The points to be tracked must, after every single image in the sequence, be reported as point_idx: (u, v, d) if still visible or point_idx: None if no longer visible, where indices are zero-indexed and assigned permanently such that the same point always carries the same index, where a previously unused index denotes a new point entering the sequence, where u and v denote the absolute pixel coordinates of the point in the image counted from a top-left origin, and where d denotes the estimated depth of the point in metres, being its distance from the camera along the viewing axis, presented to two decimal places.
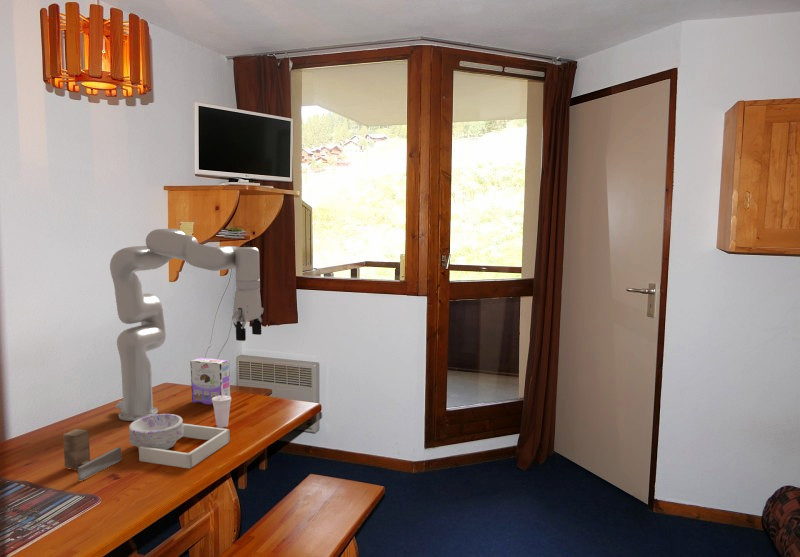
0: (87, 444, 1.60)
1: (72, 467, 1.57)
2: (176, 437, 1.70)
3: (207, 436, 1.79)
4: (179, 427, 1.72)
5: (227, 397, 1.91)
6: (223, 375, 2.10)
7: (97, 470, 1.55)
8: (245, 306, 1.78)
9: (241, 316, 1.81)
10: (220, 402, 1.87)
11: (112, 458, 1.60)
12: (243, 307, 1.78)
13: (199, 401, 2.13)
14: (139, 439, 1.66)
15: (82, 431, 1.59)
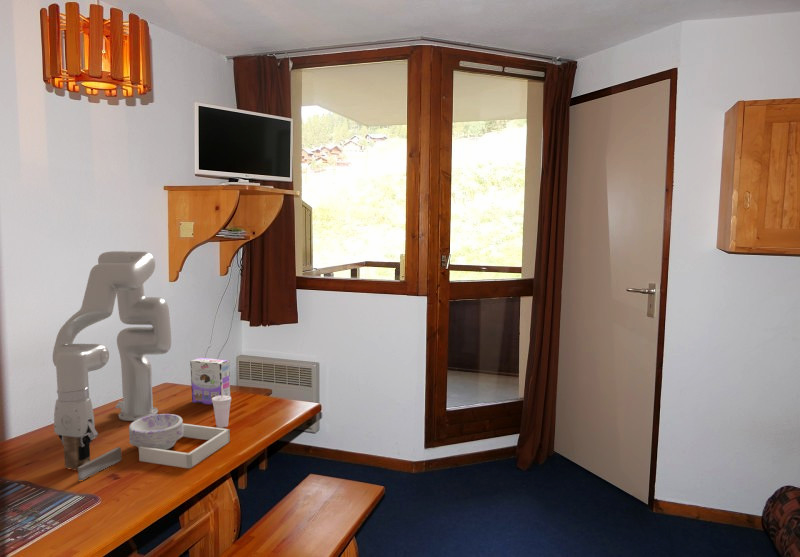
0: None
1: (72, 467, 1.57)
2: (176, 437, 1.70)
3: (207, 436, 1.79)
4: (179, 427, 1.72)
5: (227, 397, 1.91)
6: (223, 375, 2.10)
7: (97, 470, 1.55)
8: (93, 415, 1.58)
9: None
10: (220, 402, 1.87)
11: (112, 458, 1.60)
12: (92, 417, 1.58)
13: (199, 401, 2.13)
14: (139, 439, 1.66)
15: None
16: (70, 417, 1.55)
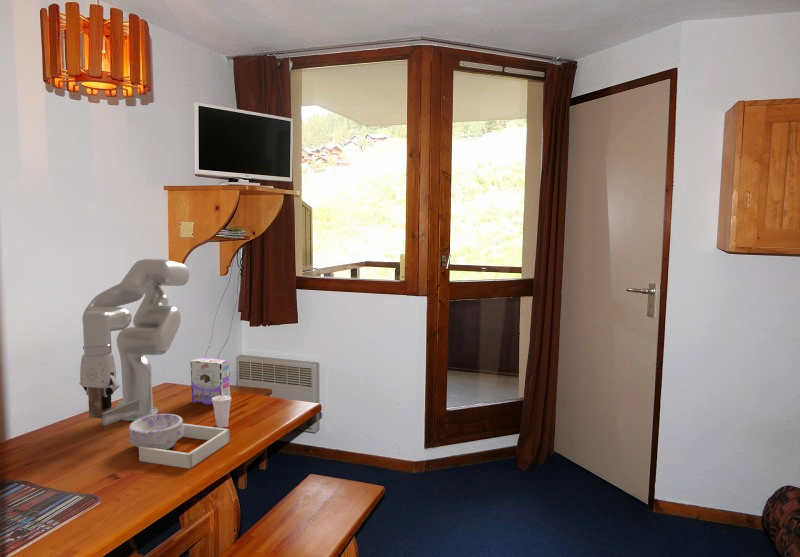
0: None
1: (95, 415, 1.75)
2: (176, 437, 1.70)
3: (207, 436, 1.79)
4: (179, 427, 1.72)
5: (227, 397, 1.91)
6: (223, 375, 2.10)
7: (118, 417, 1.73)
8: (115, 369, 1.77)
9: None
10: (220, 402, 1.87)
11: (131, 408, 1.79)
12: (114, 371, 1.76)
13: (199, 401, 2.13)
14: (139, 439, 1.66)
15: None
16: (95, 370, 1.73)
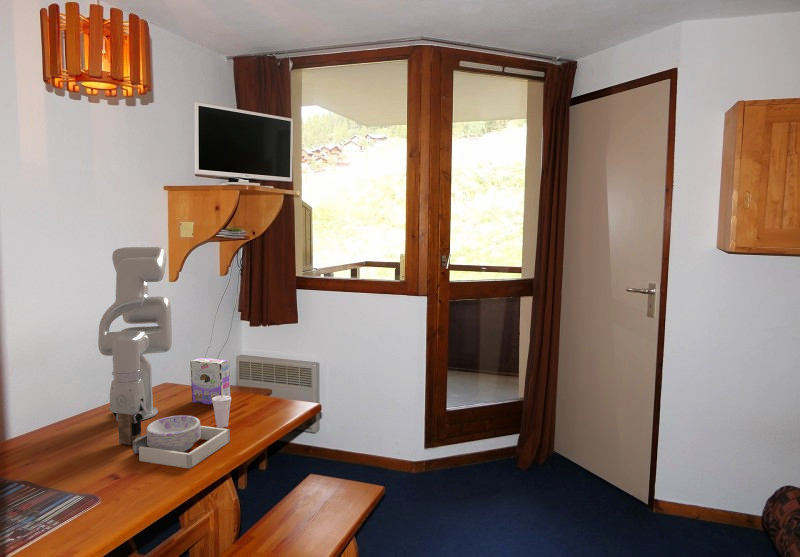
0: None
1: (125, 442, 1.74)
2: (194, 438, 1.69)
3: (207, 436, 1.79)
4: (197, 429, 1.70)
5: (227, 397, 1.91)
6: (223, 375, 2.10)
7: None
8: (144, 395, 1.75)
9: None
10: (220, 402, 1.87)
11: None
12: (144, 397, 1.74)
13: (199, 401, 2.13)
14: (158, 441, 1.64)
15: None
16: (125, 396, 1.71)
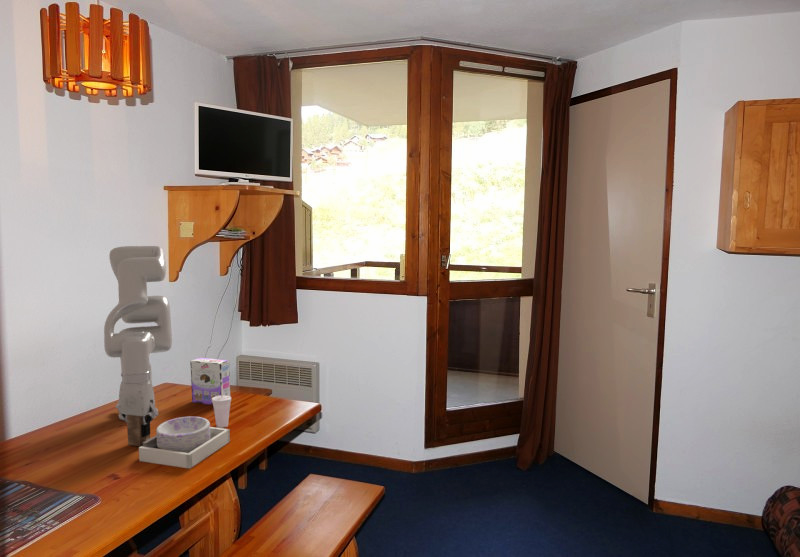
0: None
1: (135, 443, 1.73)
2: (204, 440, 1.68)
3: None
4: (207, 430, 1.70)
5: (227, 397, 1.91)
6: (223, 375, 2.10)
7: None
8: None
9: None
10: (220, 402, 1.87)
11: None
12: (153, 398, 1.74)
13: (199, 401, 2.13)
14: (168, 442, 1.63)
15: None
16: (134, 398, 1.71)
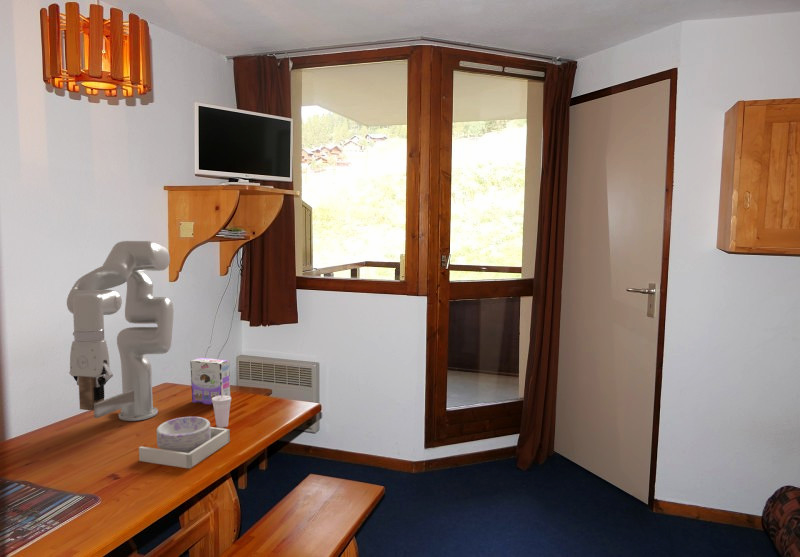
0: None
1: (87, 407, 1.61)
2: (204, 440, 1.68)
3: None
4: (207, 430, 1.70)
5: (227, 397, 1.91)
6: (223, 375, 2.10)
7: (112, 409, 1.59)
8: (108, 356, 1.62)
9: None
10: (220, 402, 1.87)
11: (126, 399, 1.64)
12: (107, 358, 1.62)
13: (199, 401, 2.13)
14: (168, 442, 1.63)
15: None
16: (86, 357, 1.59)
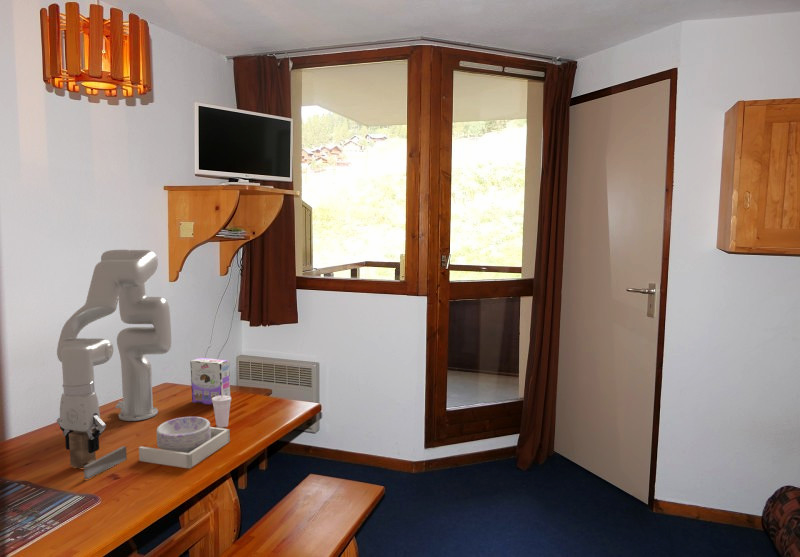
0: None
1: (78, 466, 1.58)
2: (204, 440, 1.68)
3: None
4: (207, 430, 1.70)
5: (227, 397, 1.91)
6: (223, 375, 2.10)
7: (103, 469, 1.56)
8: (98, 409, 1.59)
9: None
10: (220, 402, 1.87)
11: (117, 457, 1.61)
12: (98, 411, 1.58)
13: (199, 401, 2.13)
14: (168, 442, 1.63)
15: None
16: (76, 411, 1.55)
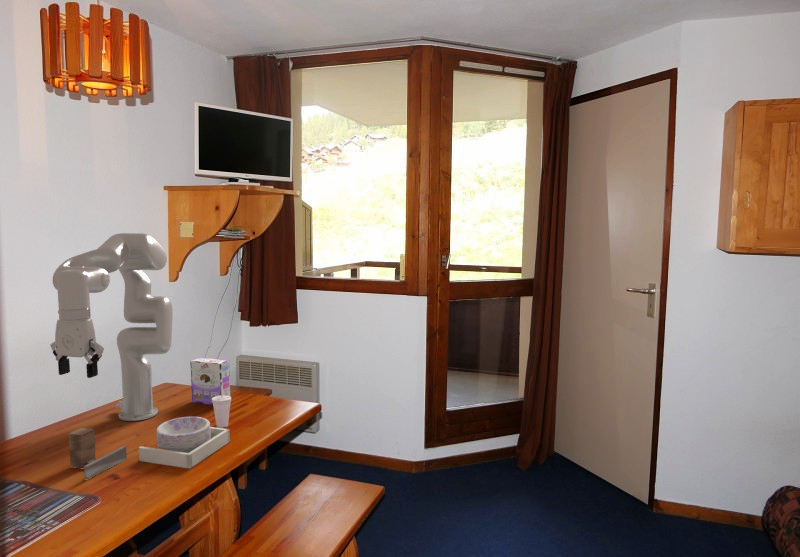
0: (93, 443, 1.60)
1: (78, 466, 1.58)
2: (204, 440, 1.68)
3: None
4: (207, 430, 1.70)
5: (227, 397, 1.91)
6: (223, 375, 2.10)
7: (103, 469, 1.56)
8: None
9: None
10: (220, 402, 1.87)
11: (117, 457, 1.61)
12: (94, 338, 1.56)
13: (199, 401, 2.13)
14: (168, 442, 1.63)
15: (88, 430, 1.60)
16: (71, 336, 1.53)
